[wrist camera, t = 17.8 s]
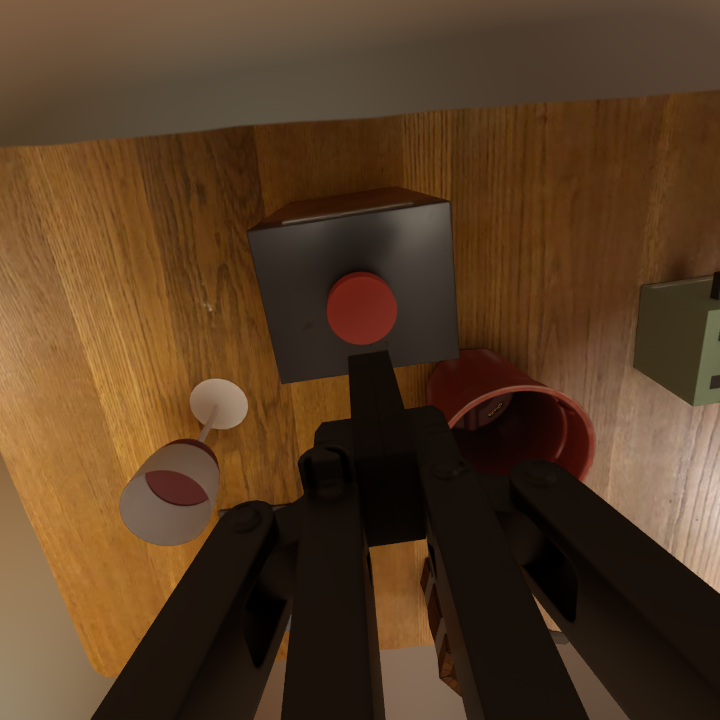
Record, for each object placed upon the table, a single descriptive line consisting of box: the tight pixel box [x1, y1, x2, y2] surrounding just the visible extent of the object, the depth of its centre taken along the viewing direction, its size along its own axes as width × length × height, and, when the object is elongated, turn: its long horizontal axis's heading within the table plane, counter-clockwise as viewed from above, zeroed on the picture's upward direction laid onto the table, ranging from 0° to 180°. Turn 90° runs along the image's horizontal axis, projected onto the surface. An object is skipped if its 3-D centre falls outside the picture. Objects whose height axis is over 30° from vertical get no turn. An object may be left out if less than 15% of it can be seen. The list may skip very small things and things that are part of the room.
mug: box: [420, 557, 569, 697], centre depth 66 cm, size 20×14×15 cm
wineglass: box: [119, 379, 248, 546], centre depth 50 cm, size 8×9×20 cm
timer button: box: [327, 272, 397, 345], centre depth 26 cm, size 4×4×1 cm
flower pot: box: [426, 348, 596, 483], centre depth 53 cm, size 16×16×16 cm
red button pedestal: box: [246, 186, 460, 384], centre depth 40 cm, size 12×10×26 cm
